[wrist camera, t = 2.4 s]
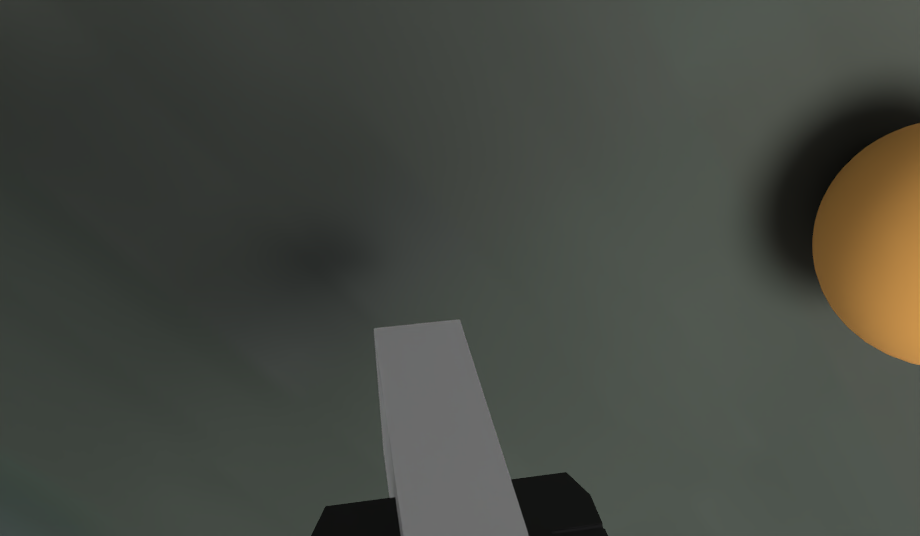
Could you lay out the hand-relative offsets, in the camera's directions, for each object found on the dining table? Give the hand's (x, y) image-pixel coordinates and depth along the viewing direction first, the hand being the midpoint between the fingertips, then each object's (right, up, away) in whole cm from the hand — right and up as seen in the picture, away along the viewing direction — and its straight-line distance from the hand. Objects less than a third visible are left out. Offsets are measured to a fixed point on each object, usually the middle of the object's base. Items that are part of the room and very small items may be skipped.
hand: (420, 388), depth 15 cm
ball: (+12, +3, +4) cm, 12 cm away
